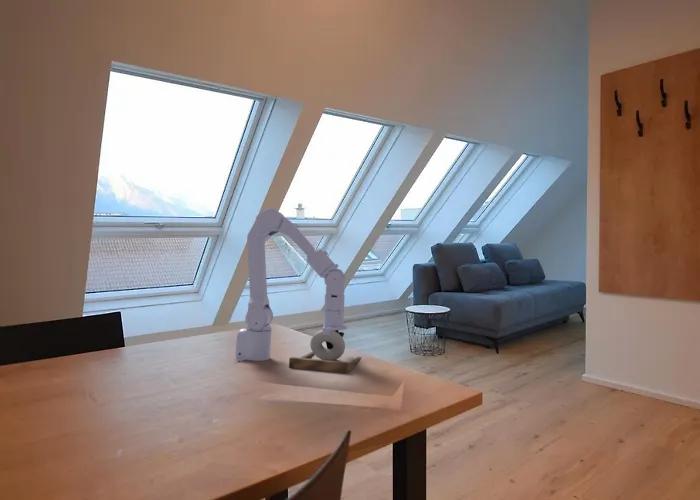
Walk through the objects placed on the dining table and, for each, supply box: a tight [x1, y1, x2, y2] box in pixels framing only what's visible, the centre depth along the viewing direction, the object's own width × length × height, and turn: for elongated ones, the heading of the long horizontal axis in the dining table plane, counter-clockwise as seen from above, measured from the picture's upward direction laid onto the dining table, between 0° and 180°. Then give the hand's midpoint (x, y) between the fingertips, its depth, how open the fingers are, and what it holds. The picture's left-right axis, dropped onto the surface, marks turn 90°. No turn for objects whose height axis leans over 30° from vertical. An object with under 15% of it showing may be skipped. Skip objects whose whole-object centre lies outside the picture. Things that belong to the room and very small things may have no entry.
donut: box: [309, 329, 346, 361], centre depth 134 cm, size 10×3×10 cm, turn 83°
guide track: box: [288, 351, 363, 374], centre depth 134 cm, size 16×18×2 cm
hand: (332, 357), depth 138 cm, fingers closed
